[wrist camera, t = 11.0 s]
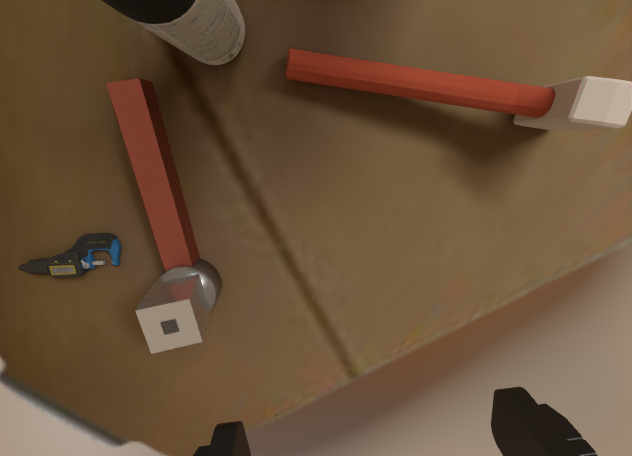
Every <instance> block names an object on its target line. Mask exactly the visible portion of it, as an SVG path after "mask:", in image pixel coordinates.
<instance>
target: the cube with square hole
mask: <svg viewBox="0 0 632 456" xmlns="http://www.w3.org/2000/svg"><path fill="white" fill-rule="evenodd" d="M135 312H136V314H137V317H138V320H139V322H140V325H141V327H142V330H143V333H144V335H145V338H146V341H147V343H148V346H149V349H150V351H151V354H152V353H157V352H161V351H165V350H170V349H174V348H178V347H182V346H187V345H191V344H195V343H200V342H203V338H204V334H205V330H206V326H207V322H208V318H209V314H210V309H209V306H208V302H207V299H206V295H205V292H204V288H203V285H202V282H201V278H200V275H199V274H196V275H191V276H186V277H181V278H176V279H172V280H167V281H162V282H157V283H153V285H152V286H151V288H150V289H149V291H148V292H147V294H146V295H145V297H144V298H143V300H142V301H141V303H140V304H139V306H138V307H137V309H136V310H135Z"/></svg>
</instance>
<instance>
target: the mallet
mask: <svg viewBox="0 0 632 456" xmlns="http://www.w3.org/2000/svg"><path fill="white" fill-rule="evenodd" d="M286 79H290V80H296V81H303V82H309V83H316V84H322V85H328V86H335V87H341V88H348V89H354V90H361V91H367V92H373V93H380V94H386V95H393V96H399V97H406V98H412V99H418V100H425V101H431V102H438V103H444V104H451V105H457V106H464V107H470V108H476V109H483V110H489V111H496V112H502V113H509V114H515V117H514V120H513V123H514V125H520V126H526V127H532V128H539V129H545V130H552V131H553V130H592V129H614V128H621V127H623V126H625V125H626V122H627V120H628V117H629V115H630V113H631V110H632V82H630V81H624V80H618V79H609V78H601V77H592V76H585V77H580V78H575V79H571V80H566V81H562V82H558V83H554V84H550V85H546V86H542V87H540V86H539V87H538V86H532V85H525V84H518V83H512V82H505V81H498V80H492V79H485V78H478V77H472V76H465V75H458V74H452V73H445V72H438V71H432V70H425V69H418V68H411V67H405V66H398V65H392V64H385V63H379V62H372V61H366V60H359V59H353V58H346V57H340V56H334V55H327V54H321V53H315V52H309V51H303V50H297V49H291V48H289V50H288V59H287V68H286Z"/></svg>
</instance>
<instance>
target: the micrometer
mask: <svg viewBox="0 0 632 456" xmlns="http://www.w3.org/2000/svg"><path fill="white" fill-rule="evenodd" d="M94 250H107V251H109V252H110V254H111V258H112V260H111V264H113V265H120V259H119V257H120V252H121V244H120V242H119V240H118V239H117V236H115V235H113V234H110V233H100V234H86V235H83V236H81V237H80V238H79V239H78V240H77V242H76V243H75V245H74V246H73V247H72V248H71V249H70V250H68V251H66V252H64V253H62V254H59V255H56V256H54V257H52V258H47V259H37V260H30V261H29V262H28V263H27V264H21V265H19V270H27V272H28V273H30V274H50V275H51V277H70V276H81V275H83V274H84V273H86V272H87V271H88V270H89V269H94V268H95V267H96V265H106V264H107V262H106V261H96V260H95V259H94V257H93V253H92V252H93V251H94Z"/></svg>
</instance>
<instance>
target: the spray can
mask: <svg viewBox="0 0 632 456" xmlns="http://www.w3.org/2000/svg"><path fill="white" fill-rule="evenodd" d="M102 1H104V2H105V3H107V4H108V5H110V6H111V7H113V8H114V9H116V10H117V11H118V12H120V13H122V14H123V15H125V16H126V17H128V18H130V19H132V20H133V21H135V22H136V23H138V24H140V25H141V26H143V27H144V28H146V29H148V30H149V31H151V32H153V33H154V34H156V35H158V36H159V37H161V38H162V39H164V40H166V41H167V42H169V43H170V44H172V45H174V46H175V47H177V48H179V49H180V50H182V51H183V52H185V53H187V54H188V55H190V56H191V57H193V58H195V59H196V60H198V61H200V62H202V63H205V64H209V65H221V64H224V63H227V62H229V61H230V60H232V59H233V58H235V57H236V56H237V55H238V53H239V51H240V50H241V48H242V45H243V42H244V38H245V24H244V20H243V16H242V14H241V11H240V9H239V7H238V5H237V4H236V2H235V0H102Z"/></svg>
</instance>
